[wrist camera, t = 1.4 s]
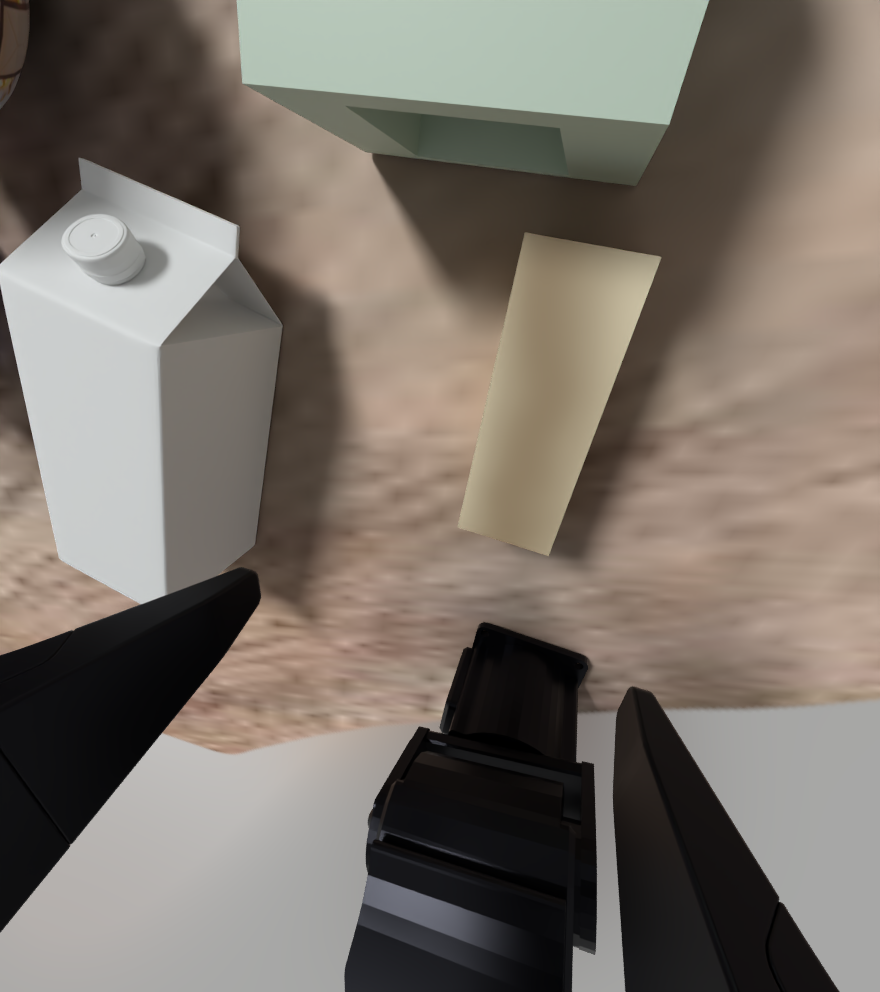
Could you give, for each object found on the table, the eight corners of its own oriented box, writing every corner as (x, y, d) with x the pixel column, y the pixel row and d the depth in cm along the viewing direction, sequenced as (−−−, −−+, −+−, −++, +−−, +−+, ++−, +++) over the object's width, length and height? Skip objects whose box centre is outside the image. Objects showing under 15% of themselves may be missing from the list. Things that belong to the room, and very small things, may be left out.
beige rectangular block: (645, 260, 15) (661, 256, 12) (554, 510, 21) (548, 556, 18) (537, 241, 16) (524, 232, 13) (477, 487, 22) (457, 527, 18)
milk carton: (167, 502, 29) (160, 175, 19) (255, 547, 28) (295, 234, 18) (57, 561, 23) (-38, 130, 13) (166, 620, 22) (153, 213, 12)
